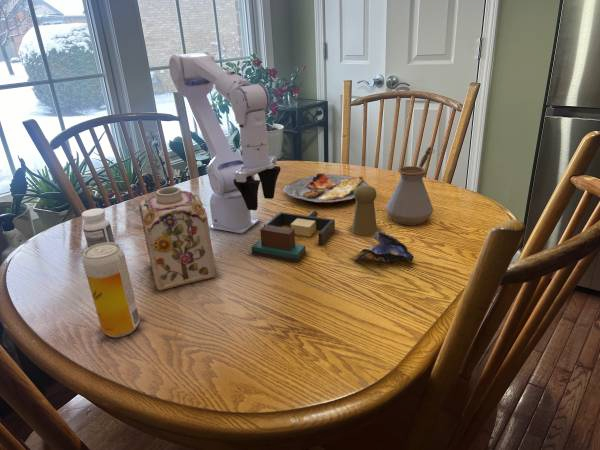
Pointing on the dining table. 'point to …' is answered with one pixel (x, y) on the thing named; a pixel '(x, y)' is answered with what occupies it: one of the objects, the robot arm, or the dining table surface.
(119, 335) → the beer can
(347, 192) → the food plate
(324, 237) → the dark grey u-shaped frame
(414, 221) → the coffee pot
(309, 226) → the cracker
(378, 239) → the snack package
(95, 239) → the pill bottle
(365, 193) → the olive pepper shaker
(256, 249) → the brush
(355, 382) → the dining table surface
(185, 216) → the decorative jar
